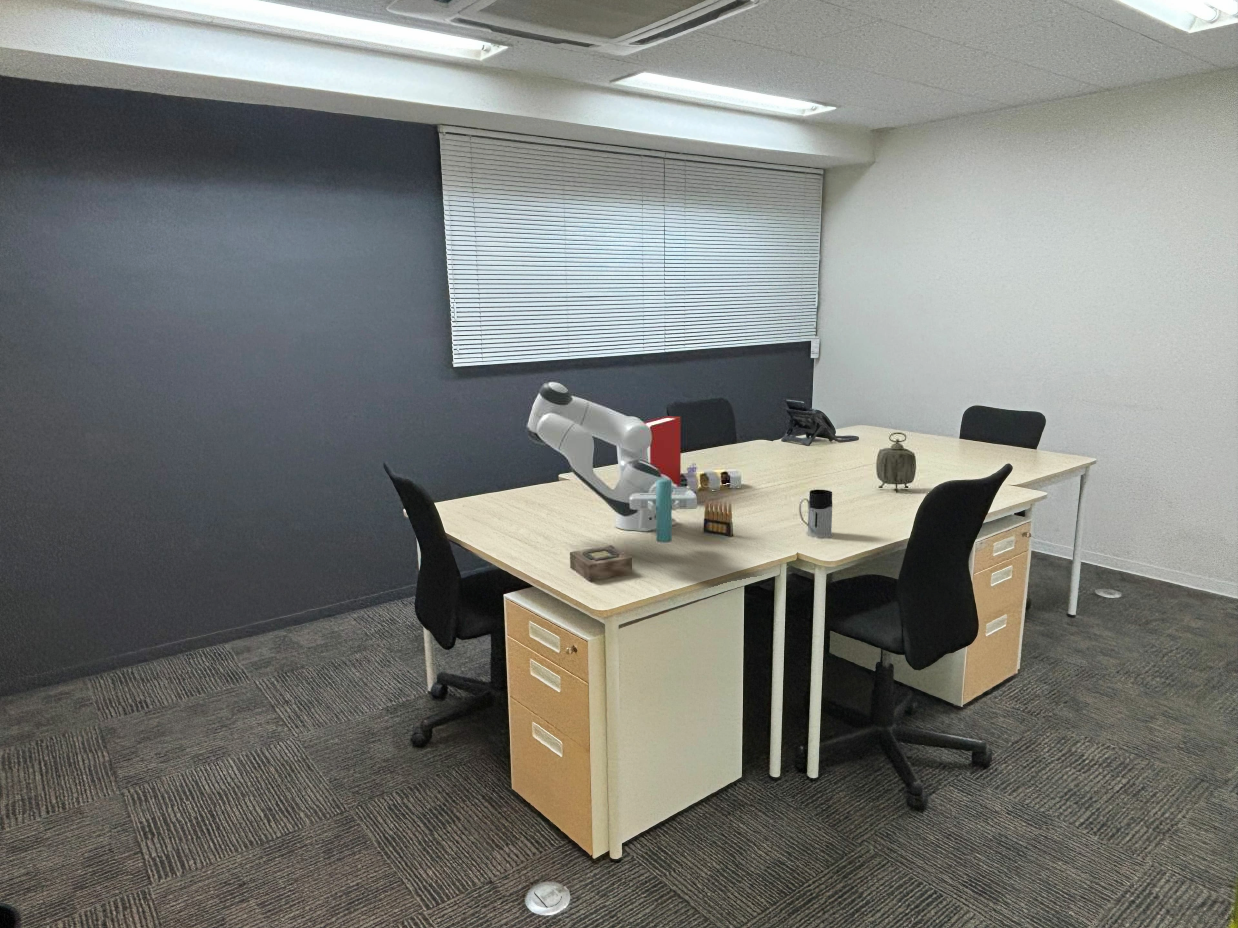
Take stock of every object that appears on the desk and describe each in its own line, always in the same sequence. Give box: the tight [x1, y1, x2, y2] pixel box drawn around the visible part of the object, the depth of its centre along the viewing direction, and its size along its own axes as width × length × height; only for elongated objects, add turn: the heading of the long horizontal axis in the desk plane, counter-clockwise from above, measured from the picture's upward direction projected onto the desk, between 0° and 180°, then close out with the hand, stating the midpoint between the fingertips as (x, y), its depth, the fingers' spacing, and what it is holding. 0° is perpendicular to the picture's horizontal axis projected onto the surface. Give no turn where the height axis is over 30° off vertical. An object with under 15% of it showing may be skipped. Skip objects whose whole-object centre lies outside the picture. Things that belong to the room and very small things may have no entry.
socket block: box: [569, 545, 633, 582], centre depth 230 cm, size 14×14×5 cm
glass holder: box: [798, 489, 833, 539], centre depth 261 cm, size 9×14×15 cm, turn 122°
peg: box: [656, 479, 673, 543], centre depth 225 cm, size 4×4×18 cm
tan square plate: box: [589, 551, 611, 558], centre depth 230 cm, size 5×5×1 cm
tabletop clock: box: [875, 431, 917, 492], centre depth 322 cm, size 14×9×25 cm, turn 84°
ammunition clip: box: [702, 498, 734, 538], centre depth 266 cm, size 11×2×12 cm, turn 56°
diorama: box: [681, 462, 742, 493], centre depth 333 cm, size 25×10×13 cm, turn 107°
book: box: [643, 415, 682, 485], centre depth 320 cm, size 27×8×32 cm, turn 149°
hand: (664, 507), depth 224 cm, fingers closed on peg, 4 cm apart
